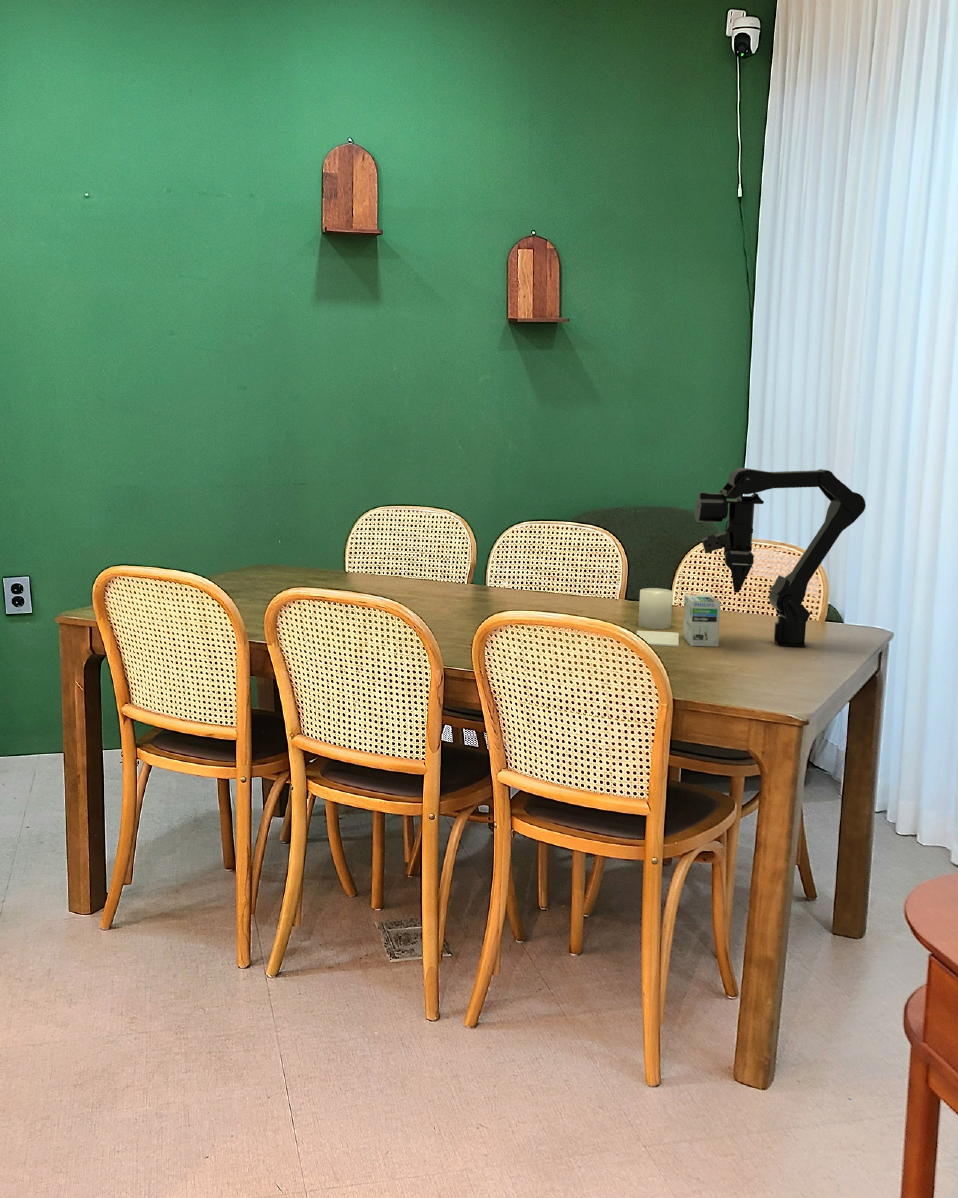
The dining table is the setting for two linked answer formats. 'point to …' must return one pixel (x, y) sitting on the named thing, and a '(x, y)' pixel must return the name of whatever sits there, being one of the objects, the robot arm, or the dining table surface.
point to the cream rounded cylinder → (655, 608)
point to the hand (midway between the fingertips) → (735, 589)
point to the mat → (660, 638)
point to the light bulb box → (701, 620)
